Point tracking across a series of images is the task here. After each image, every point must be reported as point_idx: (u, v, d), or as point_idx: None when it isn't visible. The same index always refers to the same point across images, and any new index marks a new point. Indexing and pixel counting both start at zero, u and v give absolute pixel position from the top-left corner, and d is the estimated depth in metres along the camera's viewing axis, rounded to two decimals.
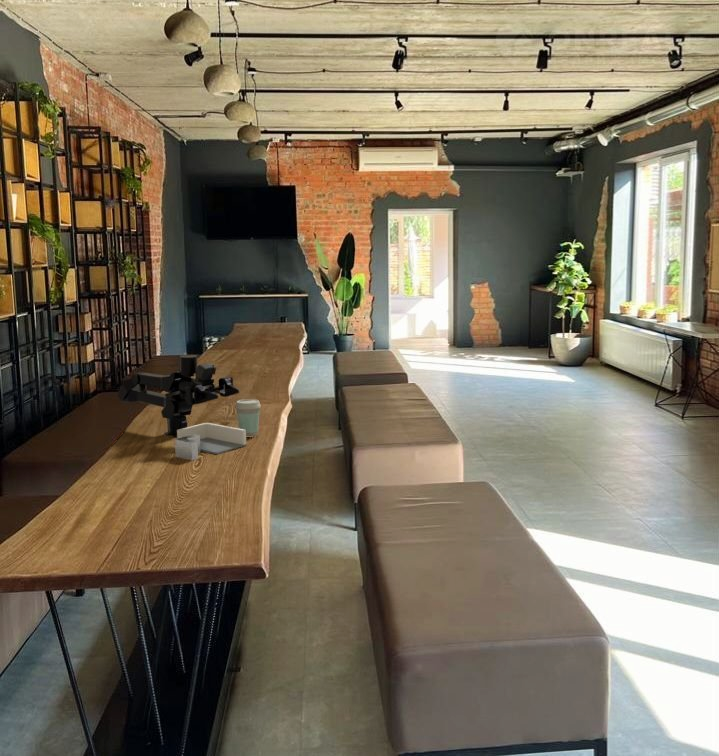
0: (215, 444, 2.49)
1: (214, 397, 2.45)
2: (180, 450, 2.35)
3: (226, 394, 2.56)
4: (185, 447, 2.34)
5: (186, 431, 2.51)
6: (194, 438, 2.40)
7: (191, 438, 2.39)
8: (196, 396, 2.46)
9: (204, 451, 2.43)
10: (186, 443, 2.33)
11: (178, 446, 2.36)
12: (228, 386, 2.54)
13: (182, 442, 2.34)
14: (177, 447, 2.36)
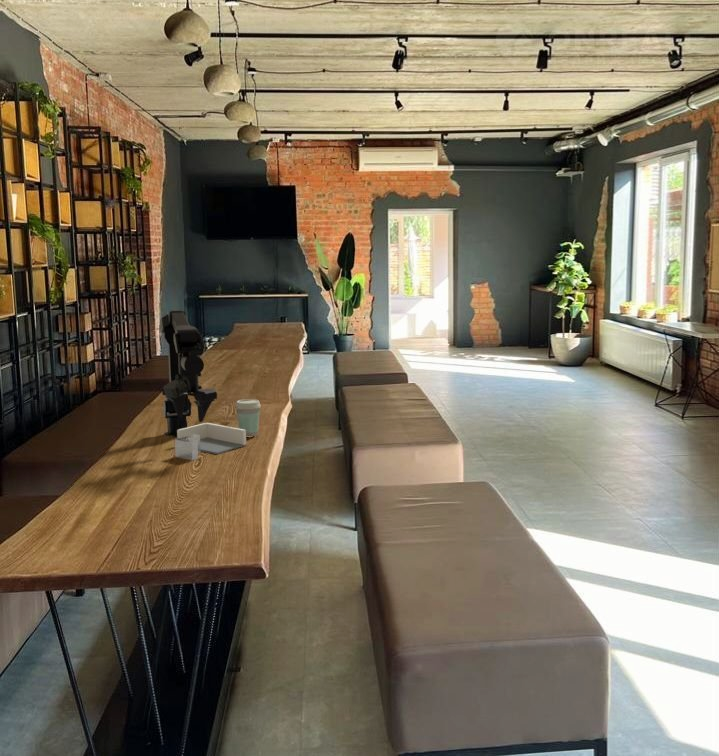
0: (215, 444, 2.49)
1: None
2: (180, 450, 2.35)
3: None
4: (185, 447, 2.34)
5: (186, 431, 2.51)
6: (194, 438, 2.40)
7: (191, 438, 2.39)
8: None
9: (204, 451, 2.43)
10: (186, 443, 2.33)
11: (178, 446, 2.36)
12: None
13: (182, 442, 2.34)
14: (177, 447, 2.36)
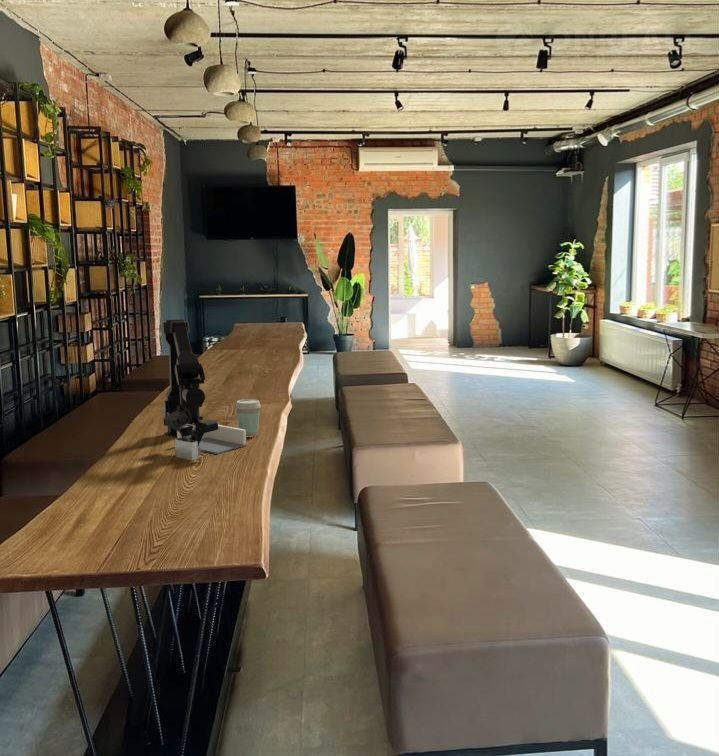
0: (215, 444, 2.49)
1: None
2: (180, 450, 2.35)
3: None
4: (185, 447, 2.34)
5: None
6: None
7: (191, 438, 2.39)
8: None
9: (204, 451, 2.43)
10: (186, 443, 2.33)
11: (178, 446, 2.36)
12: None
13: (182, 442, 2.34)
14: (177, 447, 2.36)
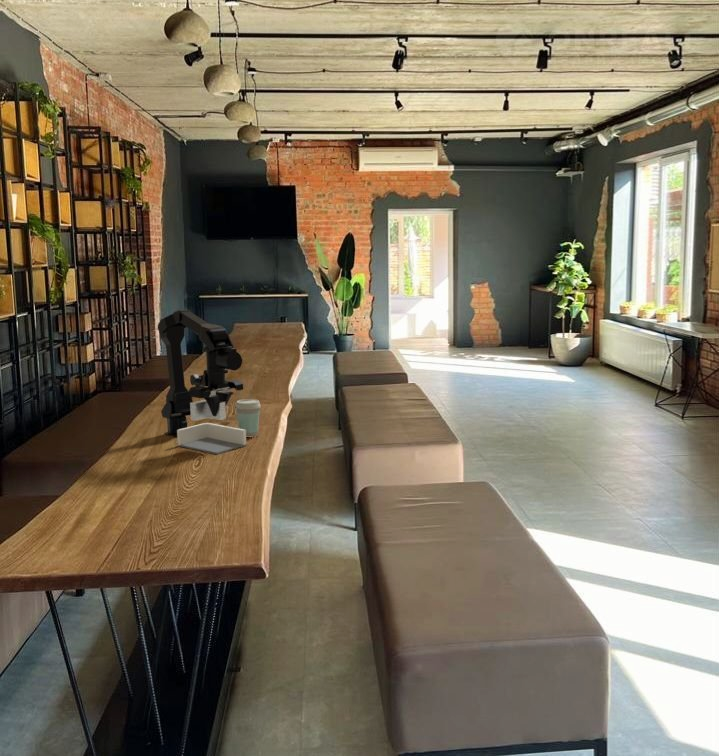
0: (215, 444, 2.49)
1: None
2: None
3: None
4: None
5: (186, 431, 2.51)
6: None
7: None
8: None
9: (204, 451, 2.43)
10: None
11: None
12: None
13: None
14: None
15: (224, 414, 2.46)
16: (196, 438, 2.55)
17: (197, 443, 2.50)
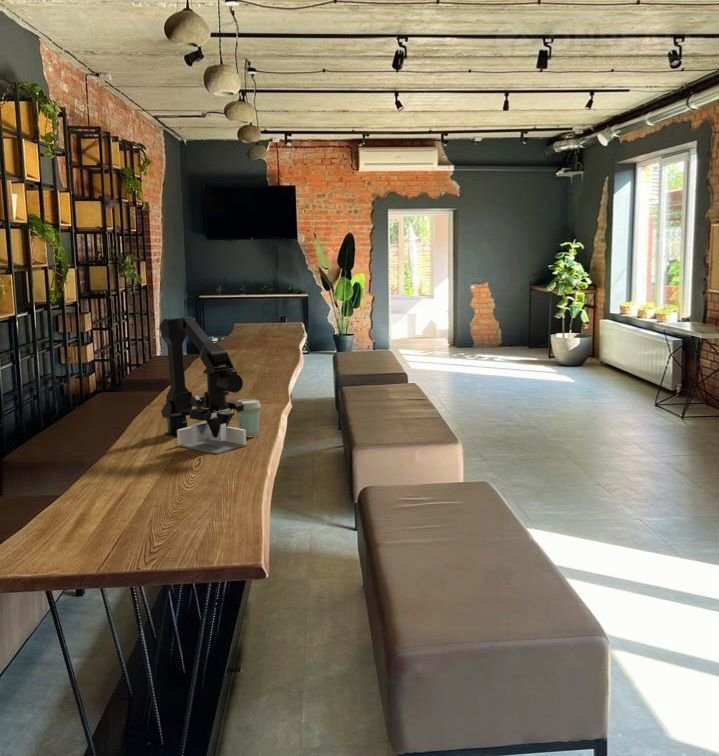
0: (215, 444, 2.49)
1: None
2: None
3: None
4: None
5: (186, 431, 2.51)
6: None
7: None
8: None
9: (204, 451, 2.43)
10: None
11: None
12: None
13: None
14: None
15: (225, 435, 2.47)
16: None
17: (197, 443, 2.50)
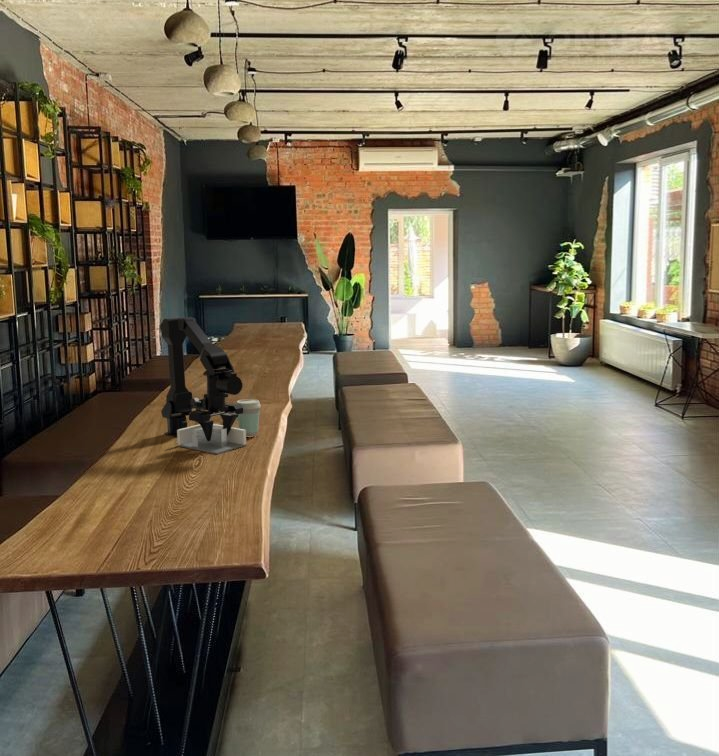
0: None
1: None
2: None
3: None
4: None
5: (186, 431, 2.51)
6: (216, 430, 2.47)
7: (213, 429, 2.47)
8: None
9: (204, 451, 2.43)
10: None
11: None
12: None
13: None
14: None
15: (225, 441, 2.48)
16: None
17: None
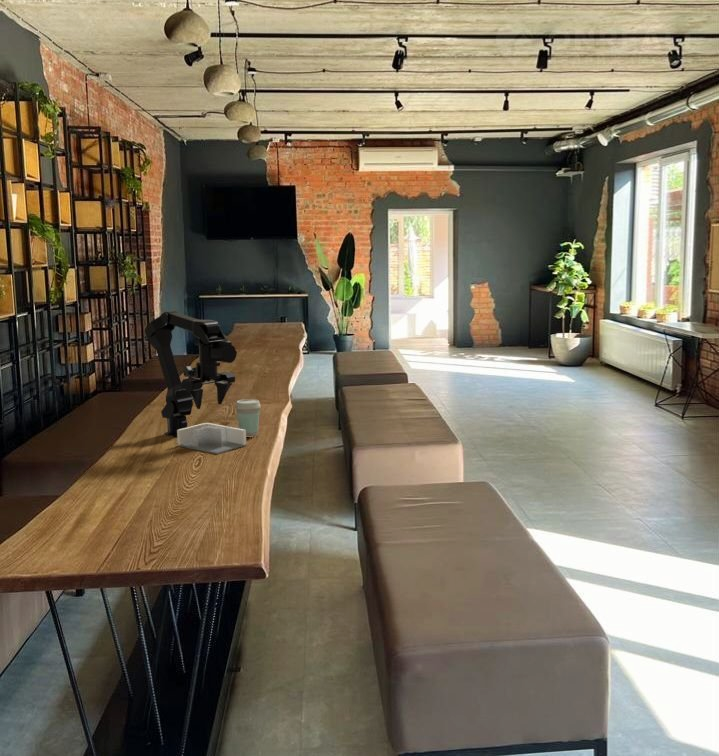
0: None
1: None
2: None
3: None
4: None
5: (186, 431, 2.51)
6: (216, 430, 2.47)
7: (213, 429, 2.47)
8: None
9: (204, 451, 2.43)
10: None
11: None
12: None
13: None
14: None
15: (225, 441, 2.48)
16: None
17: None
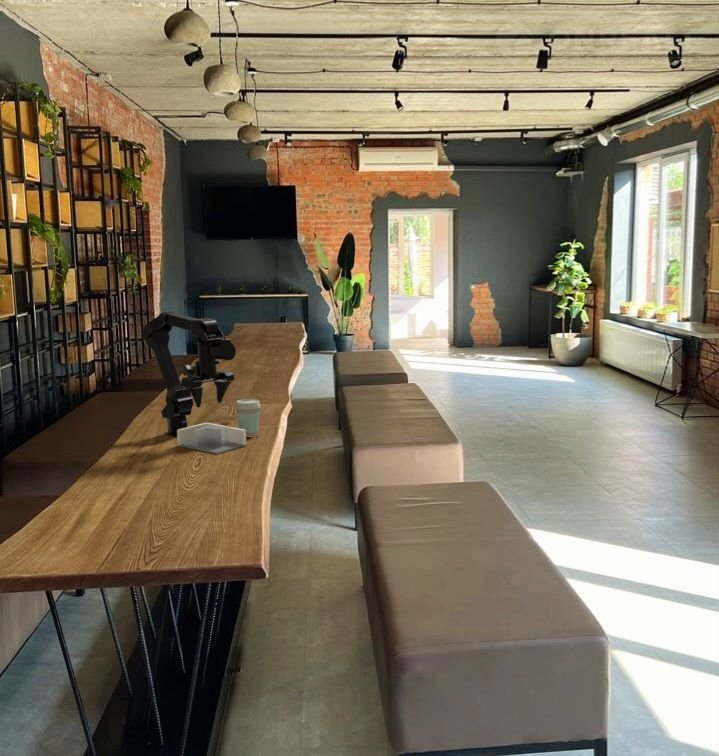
0: None
1: None
2: None
3: None
4: None
5: (186, 431, 2.51)
6: (216, 430, 2.47)
7: (213, 429, 2.47)
8: None
9: (204, 451, 2.43)
10: None
11: None
12: None
13: None
14: None
15: (225, 441, 2.48)
16: None
17: None
